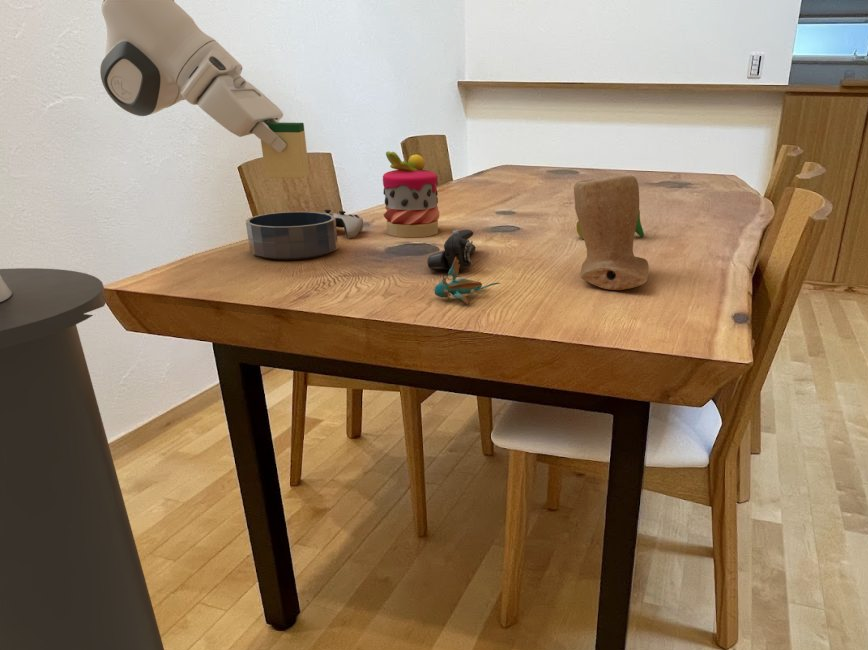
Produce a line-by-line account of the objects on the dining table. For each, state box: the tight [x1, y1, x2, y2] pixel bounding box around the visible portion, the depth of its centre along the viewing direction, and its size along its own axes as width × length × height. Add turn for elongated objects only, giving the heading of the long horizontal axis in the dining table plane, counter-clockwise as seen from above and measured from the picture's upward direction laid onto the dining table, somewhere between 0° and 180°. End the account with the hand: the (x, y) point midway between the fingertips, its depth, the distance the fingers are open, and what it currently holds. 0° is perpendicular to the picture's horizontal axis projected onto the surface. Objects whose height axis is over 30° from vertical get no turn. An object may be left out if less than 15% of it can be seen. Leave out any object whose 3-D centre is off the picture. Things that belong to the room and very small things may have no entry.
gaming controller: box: [323, 209, 364, 239], centre depth 126 cm, size 11×6×7 cm
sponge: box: [260, 122, 310, 179], centre depth 105 cm, size 6×4×8 cm, turn 95°
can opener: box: [427, 229, 477, 271], centre depth 106 cm, size 18×7×6 cm, turn 171°
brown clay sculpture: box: [573, 174, 650, 291], centre depth 96 cm, size 15×12×15 cm
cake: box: [382, 151, 440, 238], centre depth 126 cm, size 10×11×15 cm
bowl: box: [245, 211, 339, 261], centre depth 111 cm, size 14×14×6 cm
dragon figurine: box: [433, 257, 501, 305], centre depth 89 cm, size 7×7×8 cm
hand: (288, 147), depth 105 cm, fingers closed on sponge, 4 cm apart
